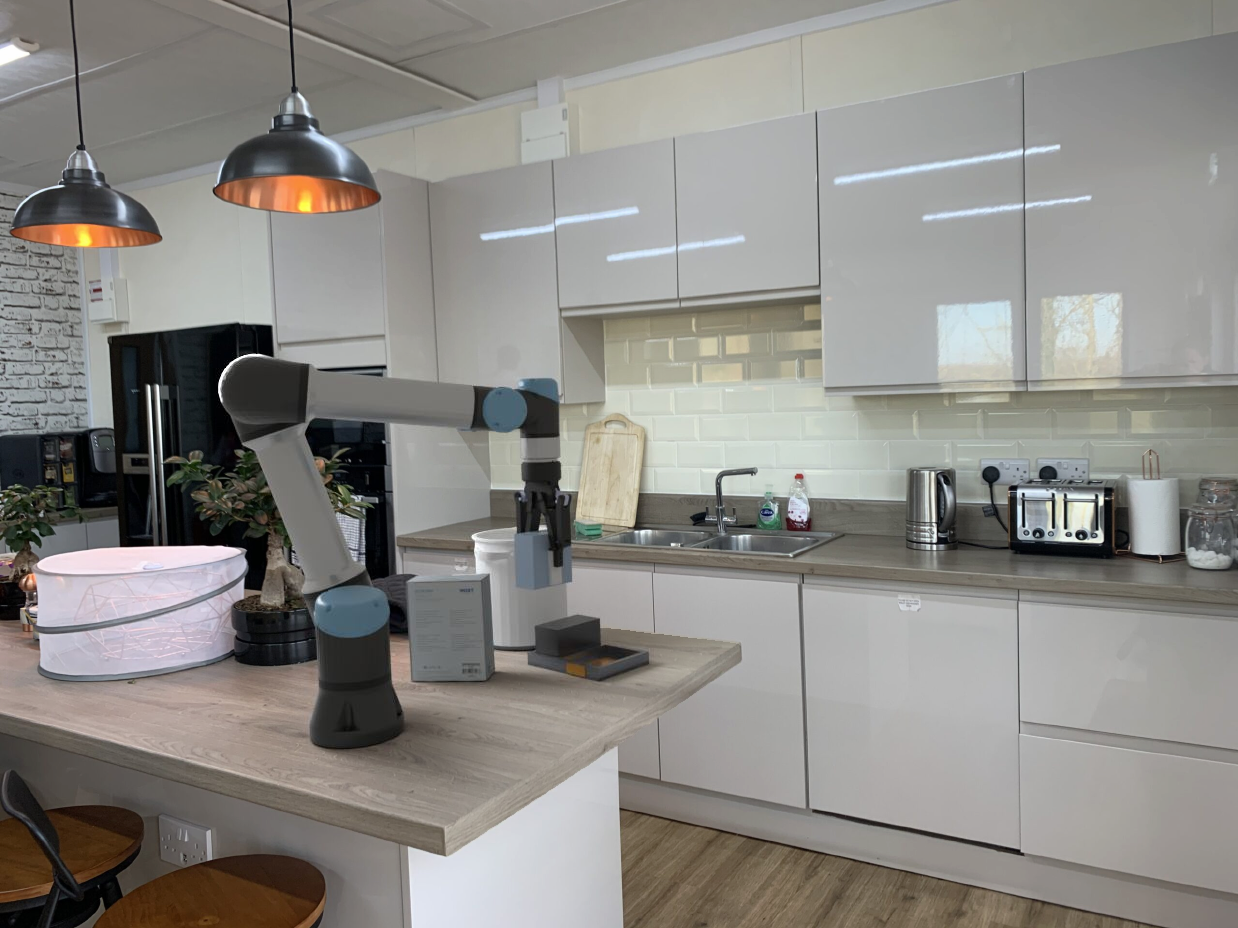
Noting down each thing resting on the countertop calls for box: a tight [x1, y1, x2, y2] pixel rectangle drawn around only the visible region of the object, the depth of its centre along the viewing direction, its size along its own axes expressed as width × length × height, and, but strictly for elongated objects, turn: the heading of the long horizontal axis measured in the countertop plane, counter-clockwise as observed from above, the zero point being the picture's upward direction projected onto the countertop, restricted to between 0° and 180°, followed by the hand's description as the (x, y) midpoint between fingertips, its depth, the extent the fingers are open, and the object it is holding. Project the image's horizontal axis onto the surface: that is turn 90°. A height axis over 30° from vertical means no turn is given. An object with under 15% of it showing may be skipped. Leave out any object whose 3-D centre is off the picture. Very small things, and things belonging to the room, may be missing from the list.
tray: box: [527, 613, 650, 682], centre depth 191 cm, size 15×20×8 cm
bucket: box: [471, 526, 569, 651], centre depth 212 cm, size 26×22×24 cm
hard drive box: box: [405, 573, 496, 682], centre depth 185 cm, size 16×8×20 cm, turn 84°
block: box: [514, 529, 573, 590], centre depth 177 cm, size 10×5×10 cm, turn 138°
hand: (544, 582), depth 178 cm, fingers closed on block, 5 cm apart
